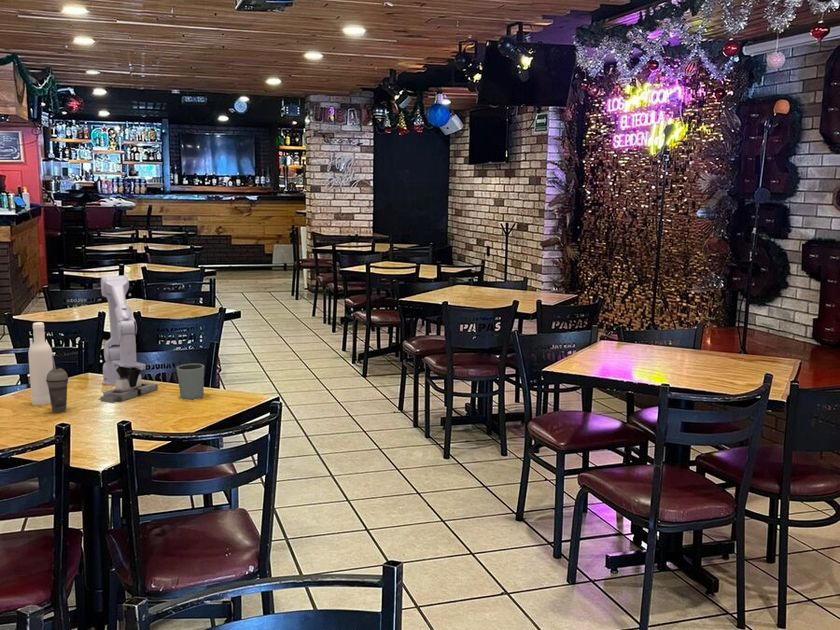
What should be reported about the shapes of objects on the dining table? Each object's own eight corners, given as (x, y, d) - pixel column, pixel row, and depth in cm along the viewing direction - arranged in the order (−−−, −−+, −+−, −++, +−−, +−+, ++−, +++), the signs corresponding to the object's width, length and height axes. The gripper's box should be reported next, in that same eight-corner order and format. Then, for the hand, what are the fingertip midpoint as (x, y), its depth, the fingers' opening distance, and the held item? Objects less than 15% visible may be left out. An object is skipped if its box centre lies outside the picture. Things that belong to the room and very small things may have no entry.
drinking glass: (210, 396, 306) (209, 365, 304) (190, 402, 298) (189, 370, 296) (192, 392, 311) (191, 362, 309) (171, 397, 303) (170, 367, 301)
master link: (116, 394, 301) (115, 379, 300) (135, 388, 310) (134, 373, 309) (123, 395, 300) (122, 380, 299) (141, 389, 309) (141, 374, 308)
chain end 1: (97, 400, 296) (97, 394, 296) (119, 393, 306) (118, 387, 306) (116, 403, 293) (116, 397, 293) (137, 396, 303) (137, 390, 303)
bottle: (26, 404, 292) (21, 323, 287) (45, 399, 299) (40, 320, 294) (41, 407, 288) (35, 325, 283) (60, 402, 295) (55, 322, 290)
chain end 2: (122, 392, 308) (122, 386, 308) (142, 386, 318) (142, 380, 318) (141, 395, 305) (140, 389, 304) (160, 388, 315) (160, 382, 314)
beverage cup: (64, 414, 280) (61, 358, 277) (44, 413, 280) (40, 357, 277) (74, 408, 287) (70, 353, 284) (53, 407, 288) (50, 353, 284)
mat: (97, 400, 298) (97, 399, 298) (137, 387, 317) (137, 386, 317) (120, 403, 294) (120, 402, 294) (159, 390, 313) (159, 389, 313)
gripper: (105, 351, 302) (107, 386, 304) (135, 355, 297) (137, 390, 299) (119, 348, 308) (120, 382, 311) (148, 351, 303) (150, 386, 305)
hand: (129, 386), depth 305 cm, fingers closed on master link, 3 cm apart
